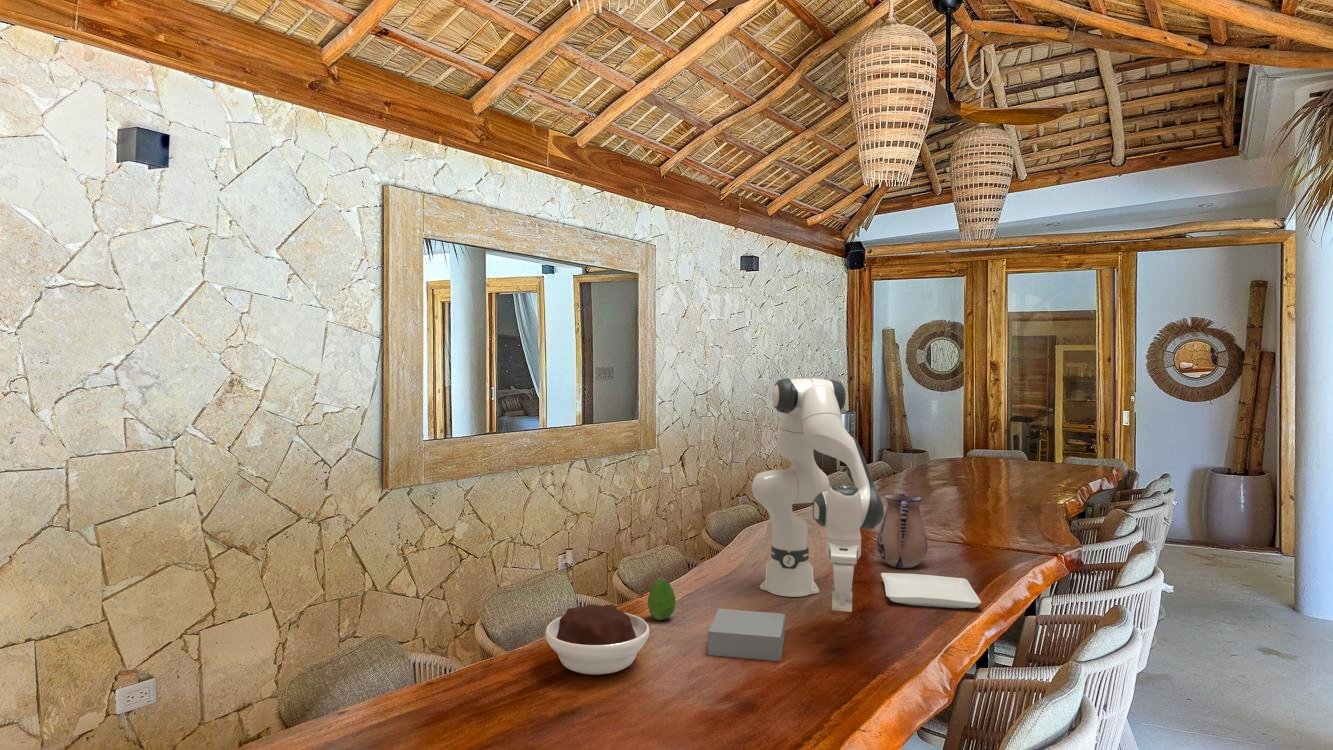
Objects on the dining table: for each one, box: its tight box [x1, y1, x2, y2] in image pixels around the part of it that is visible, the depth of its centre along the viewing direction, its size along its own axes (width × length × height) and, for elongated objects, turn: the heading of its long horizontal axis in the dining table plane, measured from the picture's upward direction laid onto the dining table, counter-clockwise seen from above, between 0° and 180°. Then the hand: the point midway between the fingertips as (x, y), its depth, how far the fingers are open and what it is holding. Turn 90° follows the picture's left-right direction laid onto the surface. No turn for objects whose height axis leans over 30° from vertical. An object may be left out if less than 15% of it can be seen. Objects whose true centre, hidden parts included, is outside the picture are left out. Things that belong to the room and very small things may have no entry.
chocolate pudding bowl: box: [545, 604, 650, 676], centre depth 190 cm, size 25×25×15 cm
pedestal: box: [707, 608, 786, 662], centre depth 205 cm, size 18×18×6 cm
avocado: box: [647, 577, 676, 621], centre depth 224 cm, size 8×8×12 cm
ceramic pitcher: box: [876, 493, 928, 569], centre depth 282 cm, size 18×21×25 cm
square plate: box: [880, 572, 982, 609], centre depth 248 cm, size 27×27×4 cm
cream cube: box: [831, 584, 853, 613], centre depth 203 cm, size 5×5×5 cm
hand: (841, 601), depth 203 cm, fingers closed on cream cube, 5 cm apart
